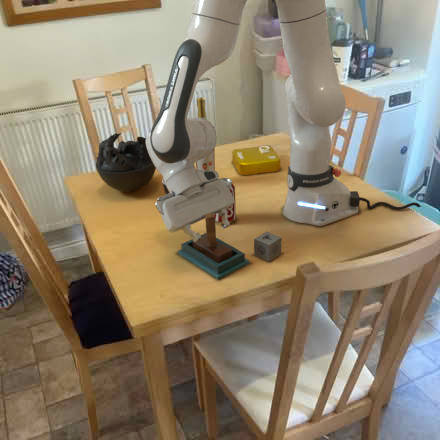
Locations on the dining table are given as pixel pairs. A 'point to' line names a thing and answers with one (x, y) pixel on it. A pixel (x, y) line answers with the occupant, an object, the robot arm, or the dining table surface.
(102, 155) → the bowl of black rocks
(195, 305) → the dining table surface
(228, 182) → the soda can
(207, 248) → the mallet
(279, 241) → the dice cube
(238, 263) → the stand
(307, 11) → the robot arm
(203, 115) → the liquor
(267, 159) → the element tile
